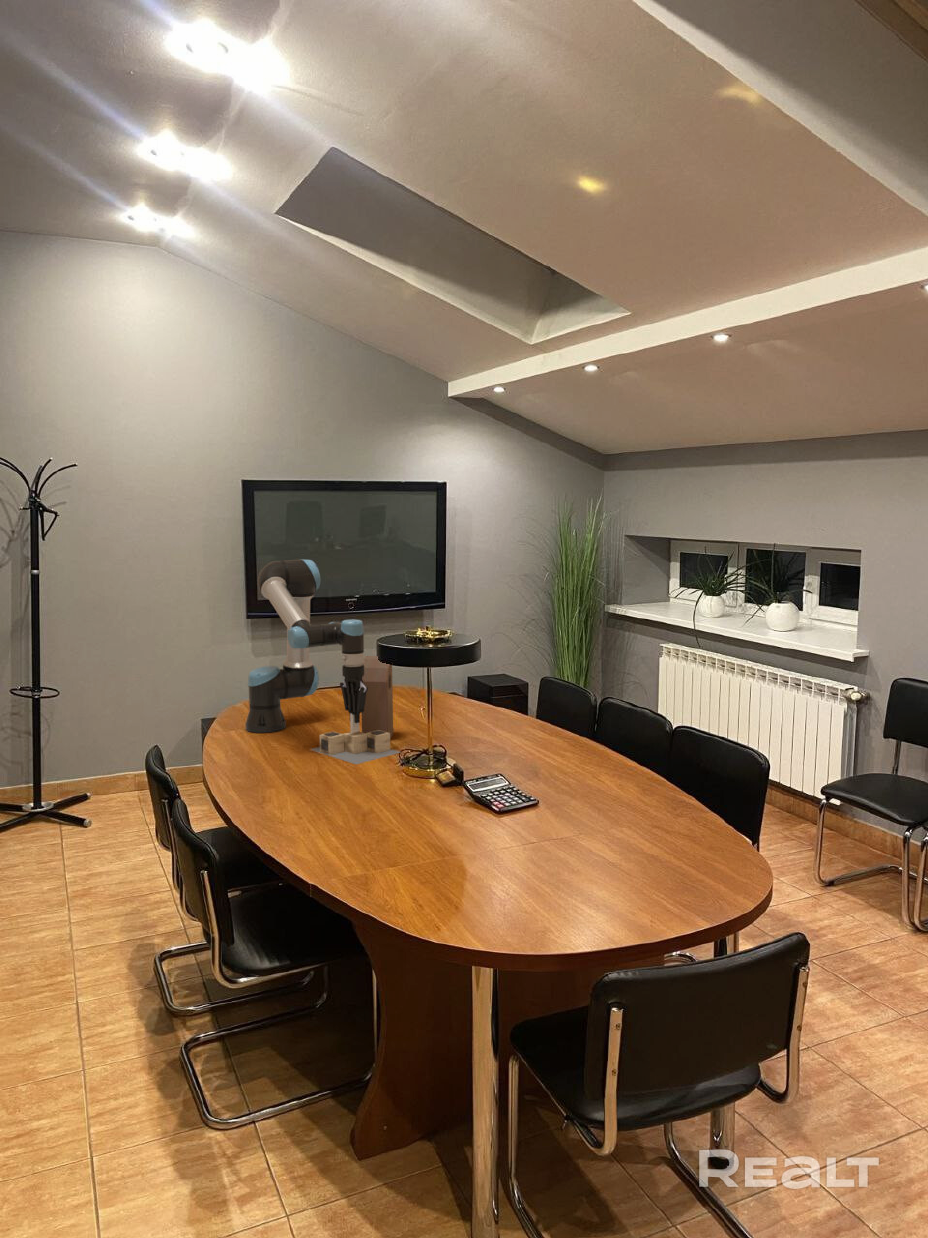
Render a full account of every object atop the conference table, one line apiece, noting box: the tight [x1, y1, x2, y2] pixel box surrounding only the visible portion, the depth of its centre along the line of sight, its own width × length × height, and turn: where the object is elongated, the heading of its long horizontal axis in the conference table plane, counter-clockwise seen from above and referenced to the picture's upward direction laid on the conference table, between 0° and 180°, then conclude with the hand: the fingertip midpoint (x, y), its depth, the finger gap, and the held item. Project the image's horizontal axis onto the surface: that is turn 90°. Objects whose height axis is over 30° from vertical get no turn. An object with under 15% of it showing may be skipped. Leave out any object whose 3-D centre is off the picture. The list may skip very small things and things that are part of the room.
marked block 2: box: [366, 730, 391, 753], centre depth 324 cm, size 6×6×6 cm
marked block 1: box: [319, 731, 344, 755], centre depth 322 cm, size 6×6×6 cm
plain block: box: [342, 730, 367, 754], centre depth 323 cm, size 6×6×6 cm
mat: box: [309, 746, 402, 765], centre depth 324 cm, size 26×20×1 cm
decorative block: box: [361, 655, 394, 739], centre depth 339 cm, size 10×10×30 cm
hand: (355, 731), depth 323 cm, fingers closed
